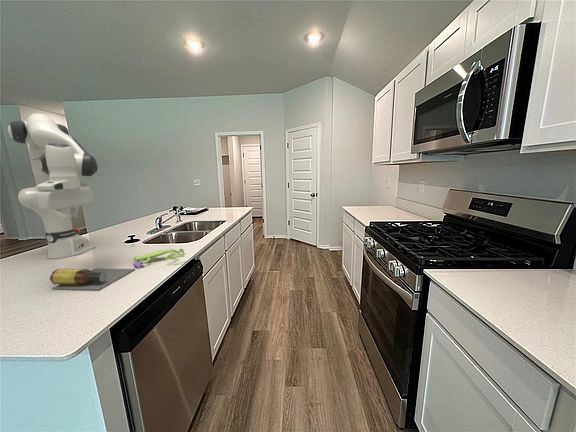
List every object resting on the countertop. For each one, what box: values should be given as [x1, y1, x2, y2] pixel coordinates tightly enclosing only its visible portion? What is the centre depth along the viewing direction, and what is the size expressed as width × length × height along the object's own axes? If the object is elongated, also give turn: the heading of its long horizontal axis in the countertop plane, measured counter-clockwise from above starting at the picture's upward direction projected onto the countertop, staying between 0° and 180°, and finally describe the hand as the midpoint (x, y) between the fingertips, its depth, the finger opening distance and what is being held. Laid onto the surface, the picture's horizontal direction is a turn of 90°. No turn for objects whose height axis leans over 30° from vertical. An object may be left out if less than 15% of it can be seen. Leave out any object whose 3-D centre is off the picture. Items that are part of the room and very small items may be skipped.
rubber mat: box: [51, 267, 136, 292], centre depth 104 cm, size 20×20×1 cm
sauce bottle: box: [49, 268, 107, 285], centre depth 98 cm, size 6×6×20 cm
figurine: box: [132, 247, 185, 269], centre depth 124 cm, size 18×27×6 cm
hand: (71, 217), depth 101 cm, fingers closed
